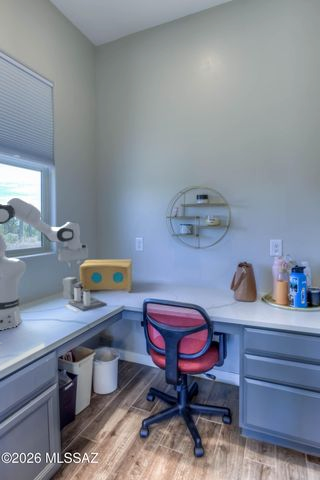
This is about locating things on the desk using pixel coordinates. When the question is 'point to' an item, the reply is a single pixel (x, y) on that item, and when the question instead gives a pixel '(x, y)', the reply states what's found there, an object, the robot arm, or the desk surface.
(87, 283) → the cardboard box
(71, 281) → the circuit breaker
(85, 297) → the toggle front
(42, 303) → the desk surface
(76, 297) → the toggle rear
